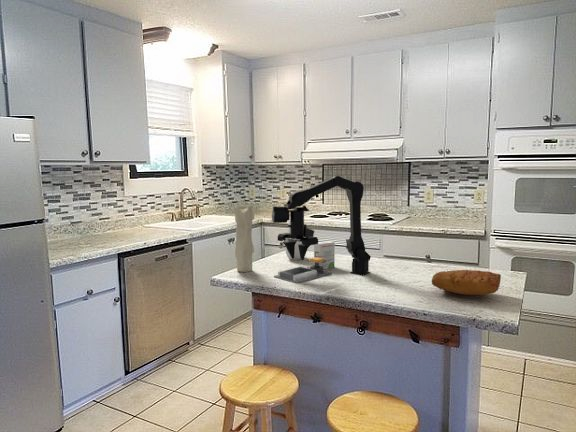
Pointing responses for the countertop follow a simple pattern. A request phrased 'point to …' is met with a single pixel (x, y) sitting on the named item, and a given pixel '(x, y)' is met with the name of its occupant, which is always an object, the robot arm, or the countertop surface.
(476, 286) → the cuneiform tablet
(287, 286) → the countertop surface
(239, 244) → the vase
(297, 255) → the soap bottle
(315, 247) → the ink box
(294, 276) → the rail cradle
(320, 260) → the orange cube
